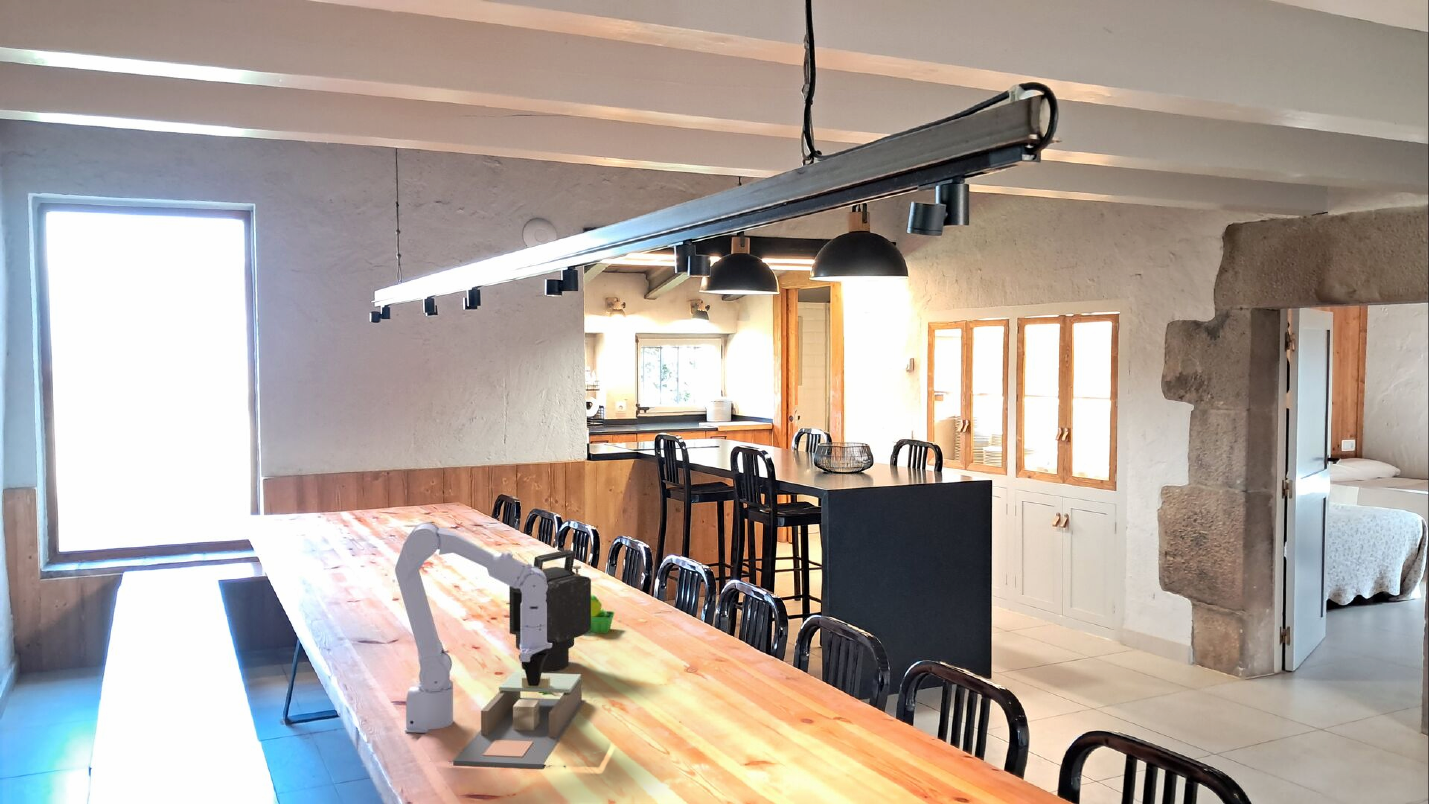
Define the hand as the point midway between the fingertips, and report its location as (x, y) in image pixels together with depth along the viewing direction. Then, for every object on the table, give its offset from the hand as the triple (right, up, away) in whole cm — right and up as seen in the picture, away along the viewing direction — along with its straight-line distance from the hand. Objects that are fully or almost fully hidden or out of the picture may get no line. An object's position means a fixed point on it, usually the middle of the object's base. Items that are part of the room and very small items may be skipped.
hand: (533, 685), depth 223 cm
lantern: (-3, -7, +41) cm, 41 cm away
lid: (+1, -1, +6) cm, 6 cm away
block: (-1, -7, -6) cm, 9 cm away
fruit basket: (+4, -6, +76) cm, 77 cm away
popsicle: (0, -8, +22) cm, 23 cm away
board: (-1, -8, -6) cm, 10 cm away
